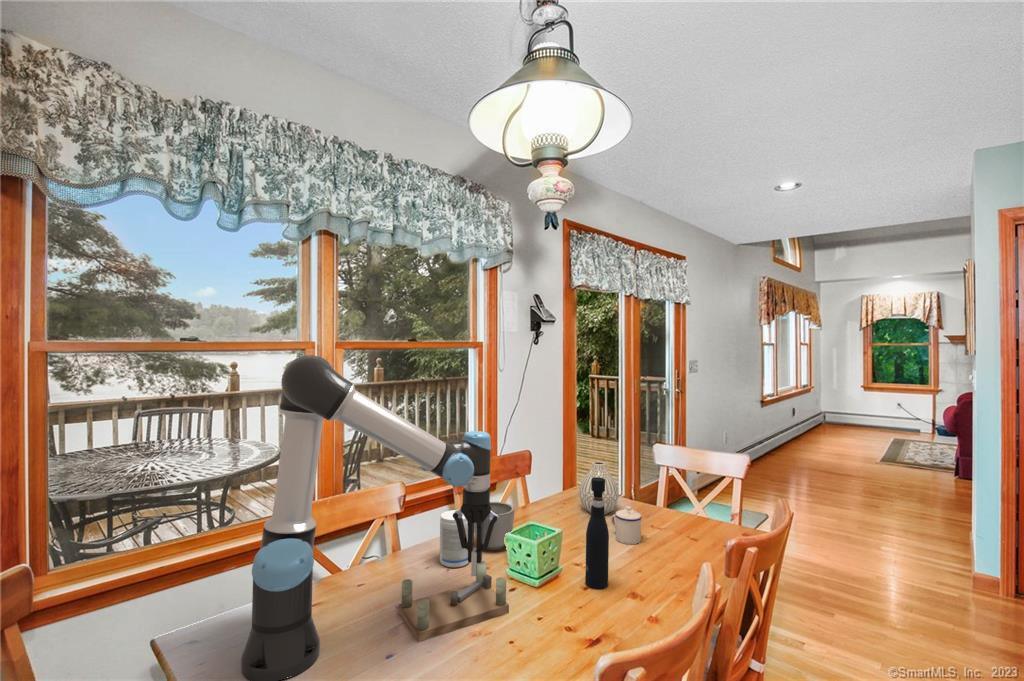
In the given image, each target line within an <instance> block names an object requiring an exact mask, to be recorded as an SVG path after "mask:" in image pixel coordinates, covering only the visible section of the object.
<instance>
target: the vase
mask: <svg viewBox="0 0 1024 681" xmlns="http://www.w3.org/2000/svg"><path fill="white" fill-rule="evenodd" d="M594 477H599V478H604V479H605V491H604V492H603V493H602V496H603V498H602V499H603V501H604V503H603V504H604V505H603V506H604V507H605V509H604V516H605V515H607V514H610V513H611V512H613V510H614V509H615V508H616V506H617V504H618V501H619V491H618V490H619V489H618V485H617V483H616V481H615V479H614V477H613V475H612V474H611V472H610V471H609V470H608V467H607V464H606V462H605V461H598V460H596V461H592V463H591V466H590V468H589V470H588V471H587V472H586V474H585V475H584V477H583V478H582V481H581V483H580V486H579V490H578V496H579V500H580V503H581V505H582V507H583V508H584V509H585V510H586V512H588V513H590V514H591V506H592V505H593V504H592V503H593V502H592V500H593V498H594V497H593V496H594V491H592V490H591V479H592V478H594Z"/></svg>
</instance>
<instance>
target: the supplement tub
mask: <svg viewBox="0 0 1024 681" xmlns="http://www.w3.org/2000/svg"><path fill="white" fill-rule="evenodd" d="M458 510H459V509H453V510H452V509H450V510H447V511H444V512H442V513H441V514H440V520H439V562H440V564H441V565H443V566H445V567H447V568H452V569H453V568H461V567H464V566H467V565H468V564H469V563H470V562H468V550H467V549H465V548H464V549H463V548H462V547H461V543H460V538H459V533H458V529H457V524H456V521H455V519H454V518H453V514H454V512H455V511H458ZM462 515H463V513H462ZM462 519H463V523H464V528H465V532H466V537H467V542H468V521H467V520H466V518H465V516H464V515H463V516H462Z"/></svg>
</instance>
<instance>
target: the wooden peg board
mask: <svg viewBox="0 0 1024 681" xmlns="http://www.w3.org/2000/svg"><path fill="white" fill-rule="evenodd" d="M492 578H493V577H492V575H489V574H486V576H484V577H483V586H481V587H480V588H478V589H477V590H476V591H474V592H473V593H471V594H470V595H469V596H467V597H466V598H465V599H463V600H462V601H458V593H459V592H461V591H462V590H464V589H465V588H467V587H468V586H469V585H470V584H469V585H464V586H462V587H456V588H454V589H450V590H447V591H443V592H439V593H436V594H432V595H428V596H425V597H420V598H418V599H414V600H413V580H412V579H409V578H406V579H403V580H402V581H401V603H399V604H398V614H400V616H401V618H402V619H403V621H404V622H405V624H406V625H407V626H408V628H409V629H410V631H411V632H412V634H413V635H414V637H415V638H416V639H417V641H418V642H422V641H425V640H428V639H431V638H435V637H438V636H441V635H443V634H446V633H449V632H452V631H456V630H459V629H463V628H466V627H468V626H472V625H475V624H479V623H480V622H484V621H487V620H491V619H493V618H496V617H499V616H503V615H506V614H509V613H510V604H509V603H508V602H507V578H505V577H497V578H496V579H495V591H494V590H493V589H492Z"/></svg>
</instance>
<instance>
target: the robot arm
mask: <svg viewBox="0 0 1024 681" xmlns="http://www.w3.org/2000/svg"><path fill="white" fill-rule="evenodd" d="M280 382H281V396H280V404H279V411H280V412H281V413H282V414H283V415H284V417H285V418H284V424H283V425H284V426H283V432H282V441H281V447H280V453H279V454H280V455H279V461H278V470H277V477H276V485H275V493H274V500H273V505H272V506H273V507H272V514H271V515H272V516H271V517H270V518H269V519H267V520H266V521H265V522H264V523H263V528H262V529H263V530H262V538H261V543H260V544H261V545H260V549H259V550H258V551H257V553H256V554H255V556H254V558H253V564H252V567H251V576H252V599H251V601H252V602H251V603H252V604H251V605H252V606H251V608H252V609H251V629H250V632H249V635H248V638H247V640H246V644H245V647H244V648H243V652H242V655H241V659H240V660H241V662H240V663H241V665H240V669H241V674H242V676H243V677H244V678H246V679H247V680H248V681H277V680H281V681H283V680H282V679H285V678H287V677H290V676H293V677H295V676H298V675H299V674H302V672H305V671H306V670H307V669H310V667H311V666H312V665H313V664H314V663H315V662H316V661H317V659H318V657H319V655H320V648H321V646H320V645H321V642H320V641H321V640H320V636H319V634H318V630H317V629H316V625H315V623H314V619H313V614H312V613H313V612H312V611H313V577H314V576H313V575H314V574H313V573H314V571H313V570H314V569H313V568H314V563H315V559H314V558H315V557H314V554H313V553H314V547H315V546H314V545H315V537H316V529H317V522H316V520H315V519H314V518H313V517H312V508H313V500H314V494H315V486H316V479H317V471H318V464H319V463H318V462H319V457H320V456H319V455H320V448H321V440H322V431H323V425H324V419H325V420H327V421H329V422H330V421H331V422H332V421H334V420H335V421H338V422H341V423H342V424H344V425H346V426H347V427H350V428H351V429H353V430H355V431H357V432H359V433H360V434H362V435H364V436H366V437H368V438H369V439H372V440H373V441H374V442H376V443H379V444H380V445H381V446H384V447H386V448H387V449H389V450H391V451H393V452H395V453H396V454H399V455H400V456H402V457H403V458H406V459H407V460H410V461H411V462H412V463H415V464H416V465H418V466H419V467H420V468H421V470H422V471H424V472H431V473H432V474H434V475H436V476H438V477H439V478H441V479H443V480H444V481H445V482H446V484H449V485H450V486H453V487H458V488H460V487H462V488H463V489H462V502H461V503H462V504H461V507H460V509H457V510H458V511H455V512H454V514H453V518H454V519H455V521H456V524H457V529H458V533H459V538H460V543H461V547H462V548H463V549H464V548H465V549H467V550H468V562H469V563H470V564H471V565H470V576H471V577H475V578H476V563H480V562H481V561H483V552H484V551H488V550H487V548H488V546H489V543H490V539H491V536H492V532H493V528H494V524H495V522H496V521H497V519H498V517H499V514H495V513H494V512H492V511H491V507H490V502H491V501H490V500H491V491H490V490H491V489H490V487H491V460H492V459H491V455H492V443H491V442H492V440H491V439H492V438H491V434H490V433H488V432H486V431H480V430H472V431H466V432H464V435H463V438H462V439H459V440H443V441H442V440H441V439H439V438H437V437H436V436H434V435H433V434H431V433H429V432H427V431H425V430H424V429H422V428H421V427H419V426H417V425H416V424H414V423H412V422H410V421H409V420H407V419H405V418H404V417H402V416H400V415H398V414H397V413H395V412H393V411H392V410H390V409H388V408H386V407H385V406H383V405H382V404H380V403H378V402H376V401H375V400H373V399H372V398H369V397H368V396H366V395H364V394H363V393H361V392H359V391H357V390H356V387H355V383H354V382H351V381H349V380H348V379H347V378H345V377H344V376H342V375H341V373H338V372H337V371H336V370H335V369H334V367H333V366H332V364H331V363H330V362H329V361H328V360H327V359H326V358H324V357H322V356H318V355H313V354H305V355H301V356H299V357H297V358H295V359H293V360H292V361H291V362H290V363H289V364H288V365H287V366H286V368H285V370H284V371H283V373H282V377H281V381H280ZM462 513H463V515H464V516H465V518H466V520H467V521H468V542H467V537H466V532H465V528H464V523H463V519H462V516H463V515H462ZM488 515H489V516H490V517H489V520H490V523H489V527H488V530H487V534H486V538H485V541H484V544H483V523H484V520H485V519H486V518H487V516H488ZM474 523H477V540H476V544H475V533H474ZM475 545H476V547H475ZM294 675H295V676H294ZM285 680H286V679H285Z"/></svg>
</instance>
